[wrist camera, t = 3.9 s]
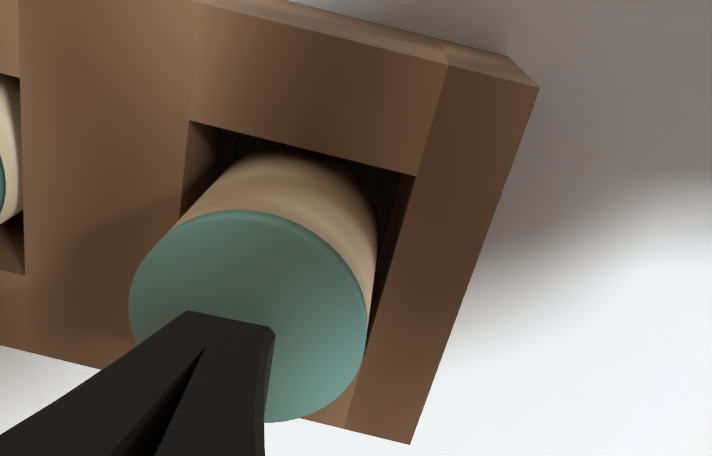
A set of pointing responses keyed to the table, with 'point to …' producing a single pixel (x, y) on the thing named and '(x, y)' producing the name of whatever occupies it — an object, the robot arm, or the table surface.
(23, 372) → the table surface
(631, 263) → the table surface
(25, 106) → the walnut block
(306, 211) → the peg
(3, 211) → the peg
